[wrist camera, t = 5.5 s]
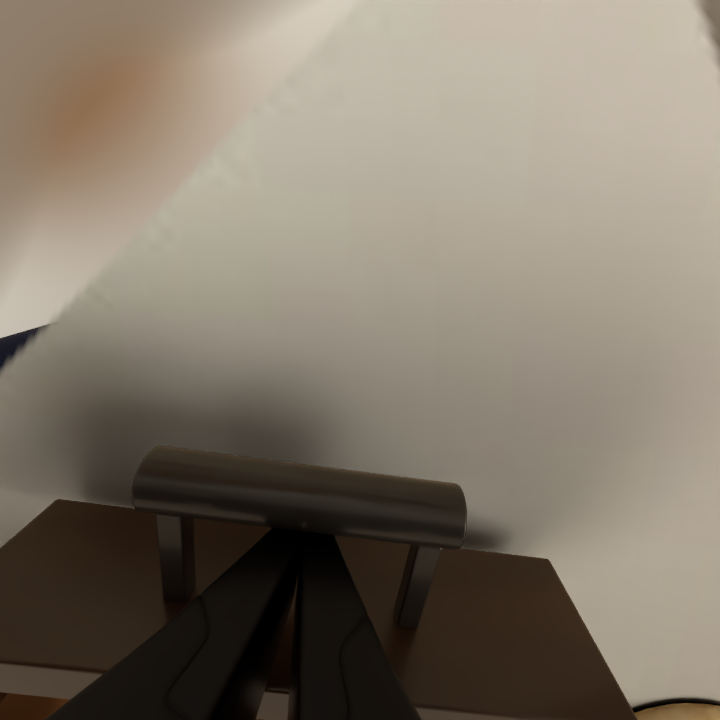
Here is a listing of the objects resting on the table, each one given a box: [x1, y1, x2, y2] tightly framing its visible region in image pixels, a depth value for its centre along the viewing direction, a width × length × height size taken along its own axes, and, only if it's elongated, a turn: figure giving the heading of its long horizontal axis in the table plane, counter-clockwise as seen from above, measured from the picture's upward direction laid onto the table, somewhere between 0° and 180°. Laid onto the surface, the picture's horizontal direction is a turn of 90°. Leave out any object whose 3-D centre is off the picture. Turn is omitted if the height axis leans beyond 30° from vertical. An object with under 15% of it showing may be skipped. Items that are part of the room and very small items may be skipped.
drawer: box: [0, 446, 638, 720], centre depth 11 cm, size 20×16×4 cm
